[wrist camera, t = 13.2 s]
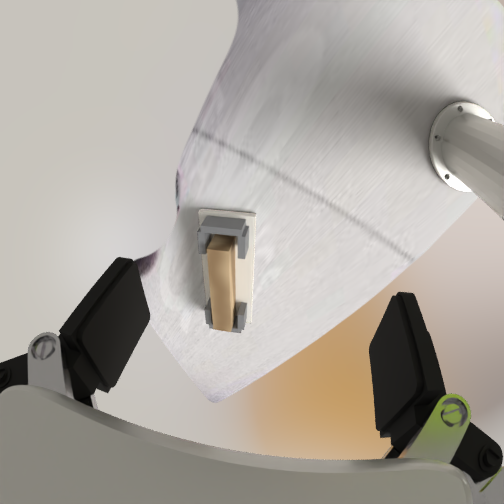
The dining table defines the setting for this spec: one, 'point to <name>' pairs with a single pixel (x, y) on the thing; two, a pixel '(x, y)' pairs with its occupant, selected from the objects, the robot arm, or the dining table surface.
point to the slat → (222, 281)
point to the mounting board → (244, 235)
